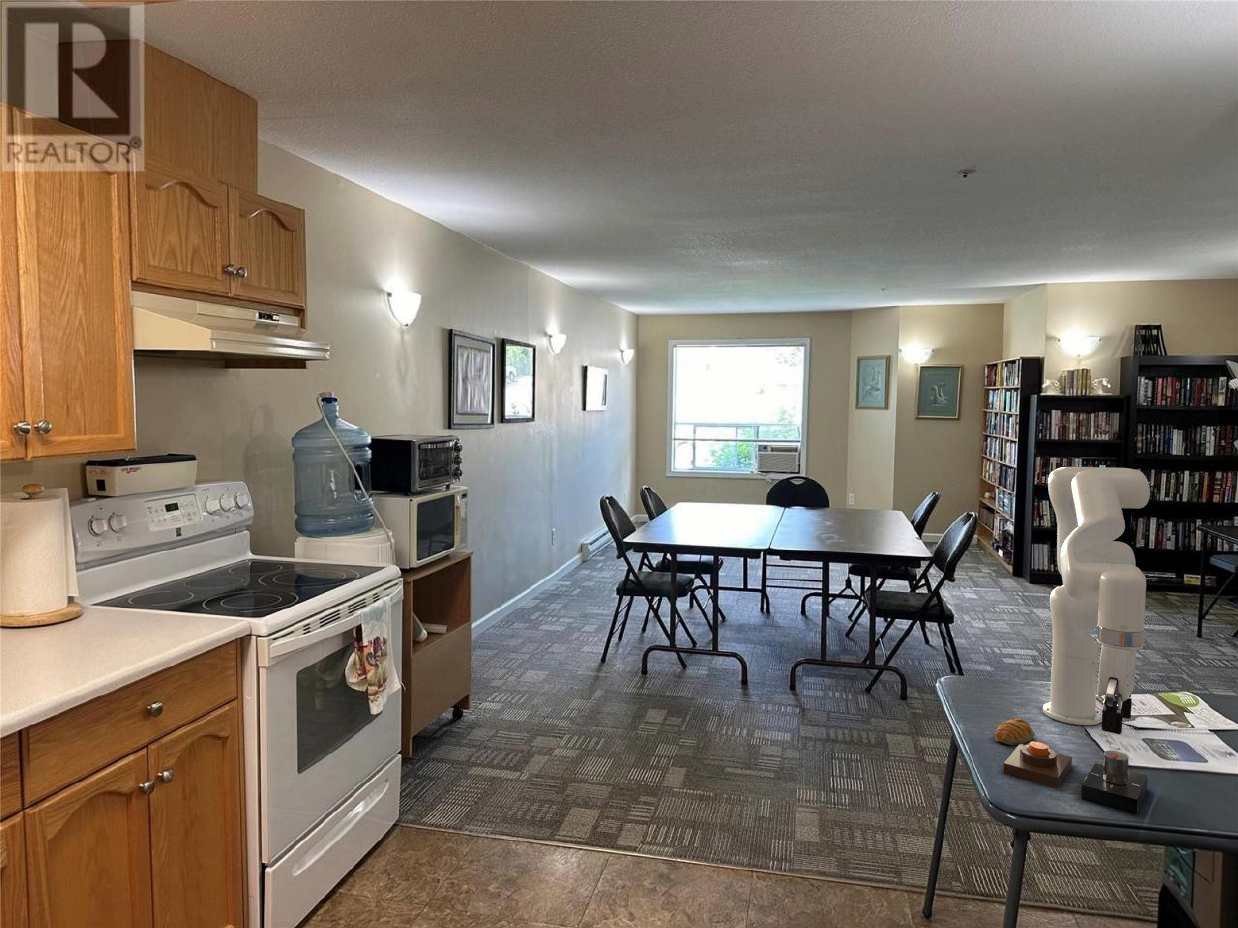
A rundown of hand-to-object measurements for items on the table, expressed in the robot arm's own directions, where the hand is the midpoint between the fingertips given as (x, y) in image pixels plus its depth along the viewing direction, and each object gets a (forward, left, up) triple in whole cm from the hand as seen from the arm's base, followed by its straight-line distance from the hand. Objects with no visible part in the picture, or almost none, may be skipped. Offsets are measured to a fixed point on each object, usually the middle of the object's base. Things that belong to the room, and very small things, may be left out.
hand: (1116, 724), depth 156 cm
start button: (-2, -14, -10) cm, 17 cm away
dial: (0, 0, -11) cm, 11 cm away
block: (-2, -14, -14) cm, 20 cm away
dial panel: (0, 0, -14) cm, 14 cm away
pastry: (-15, -22, -14) cm, 30 cm away
